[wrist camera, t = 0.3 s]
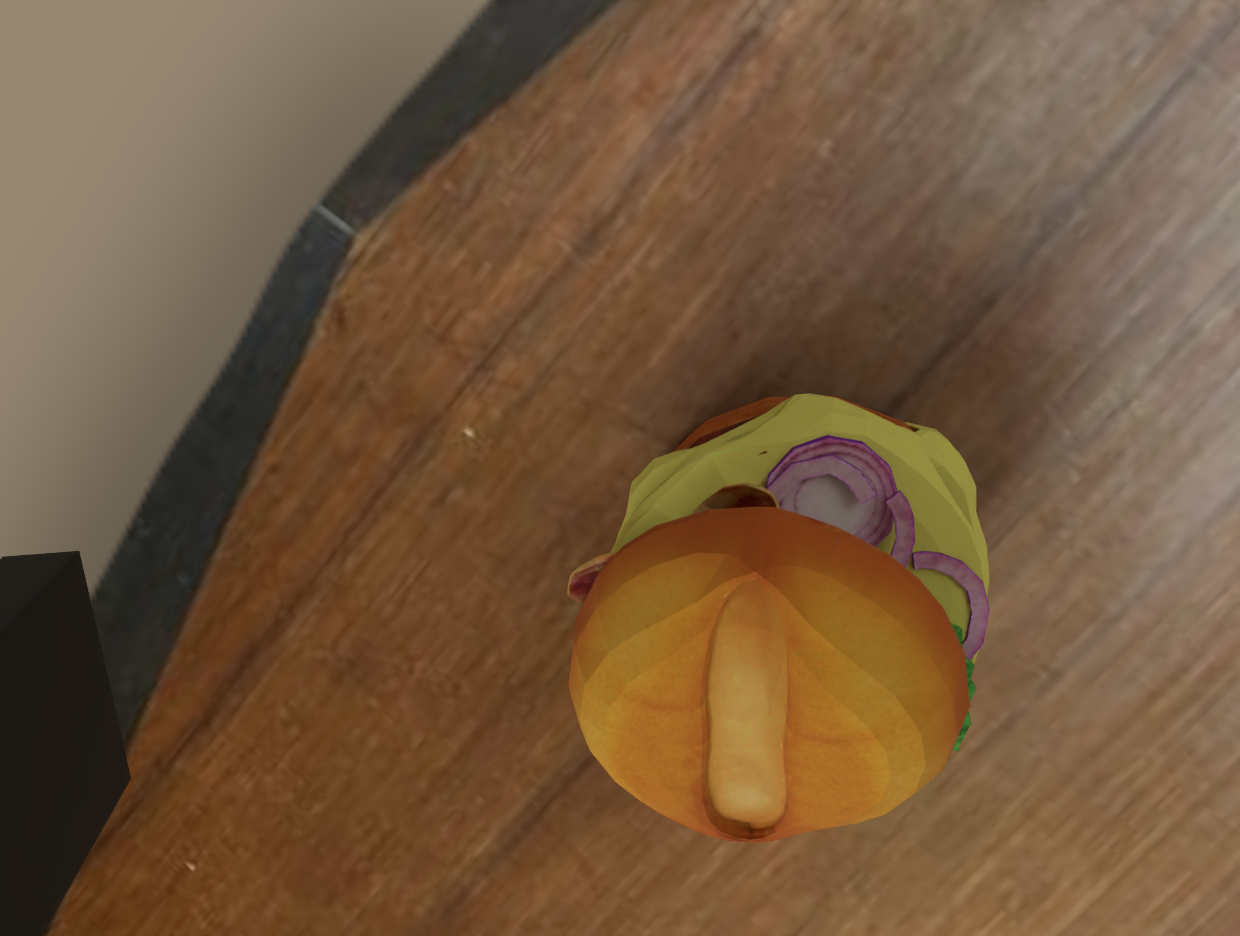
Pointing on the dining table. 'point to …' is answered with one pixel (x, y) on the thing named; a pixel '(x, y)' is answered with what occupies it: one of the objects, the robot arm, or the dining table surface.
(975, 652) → the cheeseburger
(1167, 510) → the dining table surface
